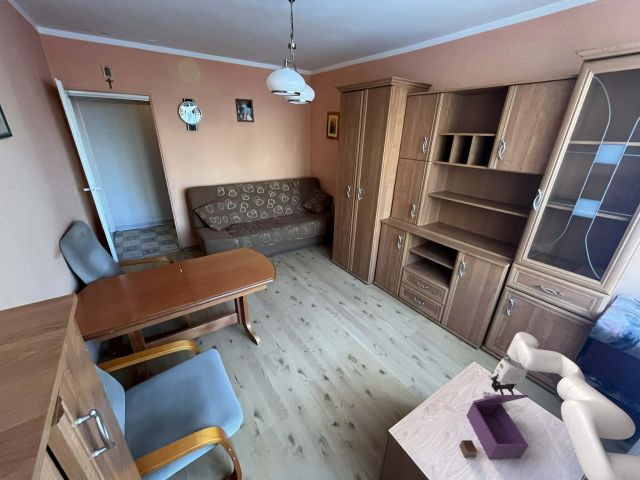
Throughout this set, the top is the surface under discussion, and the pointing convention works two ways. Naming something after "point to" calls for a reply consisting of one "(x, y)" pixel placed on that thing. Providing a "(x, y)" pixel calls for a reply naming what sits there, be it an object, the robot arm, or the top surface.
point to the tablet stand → (488, 394)
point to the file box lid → (501, 396)
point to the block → (468, 448)
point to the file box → (496, 431)
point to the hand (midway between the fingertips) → (501, 388)
